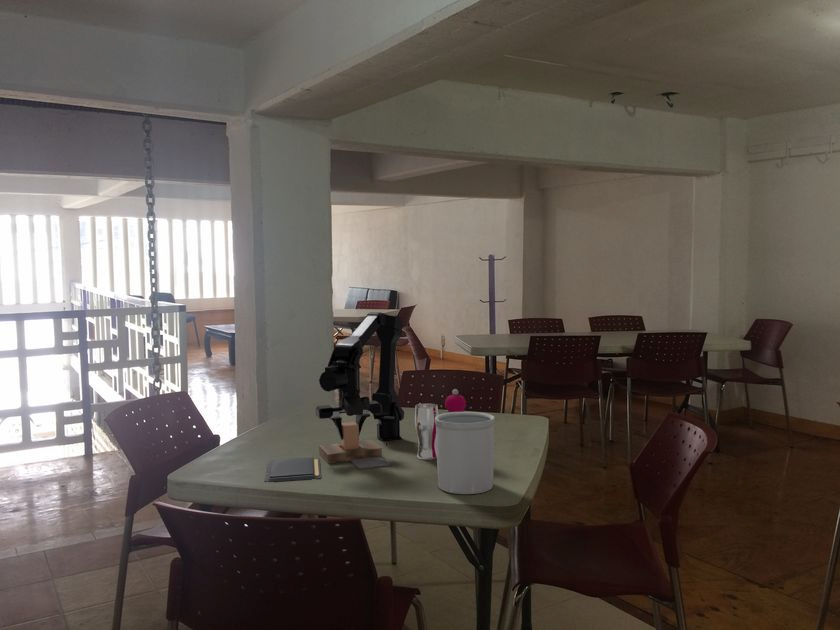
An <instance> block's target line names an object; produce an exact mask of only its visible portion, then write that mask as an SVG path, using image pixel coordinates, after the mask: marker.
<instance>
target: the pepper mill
mask: <svg viewBox="0 0 840 630" xmlns="http://www.w3.org/2000/svg"><path fill="white" fill-rule="evenodd" d="M451 393H452V394H450V395H447V397H446V398H445V402H444V406H445V409H446V410H447V412H446V413H450V412H465V411H464V410H465V409H466V407H467V401H466V398H465V397H464V396H463V395H460V394H459V390H458V389H457V388H454V389H452V391H451Z"/></svg>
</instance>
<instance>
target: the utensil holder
mask: <svg viewBox="0 0 840 630" xmlns="http://www.w3.org/2000/svg"><path fill="white" fill-rule="evenodd" d="M495 418H496V417H495V416H494V415H493V414H490V413H486V412H477V411H464V412H450V413H447V412H445V413H444V412H443V413H441V414H438V415H437V416H436V417H435V424H436V449H437V458H436V463H437V464H436V465H437V466H436V467H437V468H436V469H437V470H436V471H437V484H438V488H439V489H440V490H441V491H443V492H447V493H450V494H454V495H473V494H474V495H475V494H482V493H486V492H489V491H490V490H492V489H493V487H494V470H495V469H494V466H495V465H494V464H495V461H494V459H495V457H494V455H495V452H494V450H495V448H494V447H495V446H494V444H495V441H494V440H495V434H494V433H495V429H494V428H495V427H494V425H495V423H496V420H495Z"/></svg>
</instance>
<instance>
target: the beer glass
mask: <svg viewBox="0 0 840 630" xmlns="http://www.w3.org/2000/svg"><path fill="white" fill-rule="evenodd" d="M438 407H439V406H438V404H435V403H418V404H416V405H414V417H413V418H414V429H415V433H416V438H417V453H416V458H417V459H419V460H425V461H428V460H429V461H430V460H434V459H437V441H436V424H435V417H436V416H437V415H439V409H438Z"/></svg>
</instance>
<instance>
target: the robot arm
mask: <svg viewBox="0 0 840 630" xmlns="http://www.w3.org/2000/svg"><path fill="white" fill-rule="evenodd" d="M365 316H366V317H365V318H364V319H363V321H362V322H361V323H360V324H359V325H358V326H357V328H356V329H355V330H354V331H353V332H352V334H351V335H349V336H347V337H346V338H343V339H341V340H339V342H337V343H336V344H335V345H334V347H333V350H332V353H331V355H330V358H329V361H328V364H327V366H326V367H324V372H322V373H321V374H320V376H319V379H318V382H319V385H320V386H319V387H320V388H321V390H323V391H325V392H327V393H328V392H333V391H335V390H337V392H338V401H337V402H338V403H337V405H338V407H337V406H336V407H332V406H330V405H329V404H324V405H323V404H322V405H317V406H315V410H314V411H315V416H316V418H318V419H322V420H323V419H330V420H331V421H332V422H333V423H334V426H335V428H336V432H337V433H338V436H339V438H340V441H341V440H343V431H342V424H341V423H342V419H343V418H342V417H341V415H340V414H346V415H347V416H349V417H351V416H355V422H356V423H357V424H358V425H359V436H360V434H361V431H362V428H363V427H364V423H365V421H366V419H367V418H369V417H371V415H372V416H373V419H374V420H377V422H378V423H376V437H377V438H378V439H380V440H381V441H383V442H385V441H394V440H401V439H403V437H402V436H401V425H400V421H403V420H404V418H405V411H404V409H403V408H402V407H401V405H400V401H399V400H400V399H399V395H398V394H397V392H396V390H395V389H396V388H395V371H396V354H397V353H396V352H397V351H396V350H397V349H396V348H397V346H396V345H397V344H398V341H399V339H400V338H401V337H402V333H403V328H404V322H403V319H401V317H400V316H399V315H389V314H386V313H383V312H377V311H373V312H368V313H367V314H366V315H365ZM375 334H376V336H377V338H378V341H379V342H380V346H379V347H380V350H379V368H378V369H379V370H378V373H379V374H378V388H377V390H376V391H375V392H374V393H372V395H371V400H370V397H369V396H362V397H361V396H360V390H359V381H358V380H359V379H358V377H359V373H358V370H360V369H362V366H361V365H360V364H359V362H360V359H361V358H362V356H363V354H364V346H365V345H366V344H367V343H368V341H370V340H371V338H372V336H373V335H375ZM370 413H371V414H370Z"/></svg>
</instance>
